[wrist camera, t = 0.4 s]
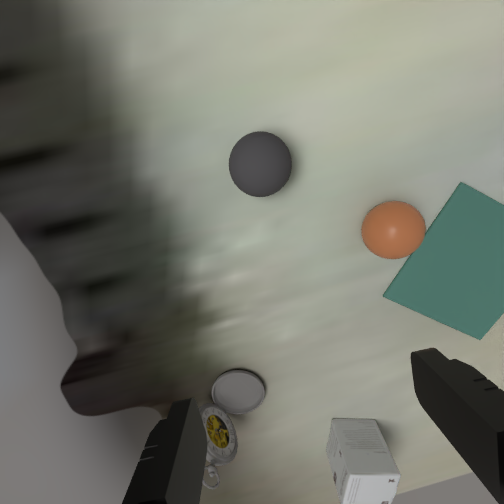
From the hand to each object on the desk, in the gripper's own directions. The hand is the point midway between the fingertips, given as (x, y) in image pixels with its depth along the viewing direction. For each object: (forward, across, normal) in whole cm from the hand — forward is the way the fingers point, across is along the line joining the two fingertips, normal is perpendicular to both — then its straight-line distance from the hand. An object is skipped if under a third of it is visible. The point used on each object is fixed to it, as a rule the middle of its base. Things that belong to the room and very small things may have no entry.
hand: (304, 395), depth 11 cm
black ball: (+18, -1, -9) cm, 20 cm away
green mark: (+22, -22, +6) cm, 31 cm away
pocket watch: (+24, +8, +17) cm, 30 cm away
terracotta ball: (+18, -12, -1) cm, 22 cm away
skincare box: (+25, -6, +28) cm, 38 cm away
